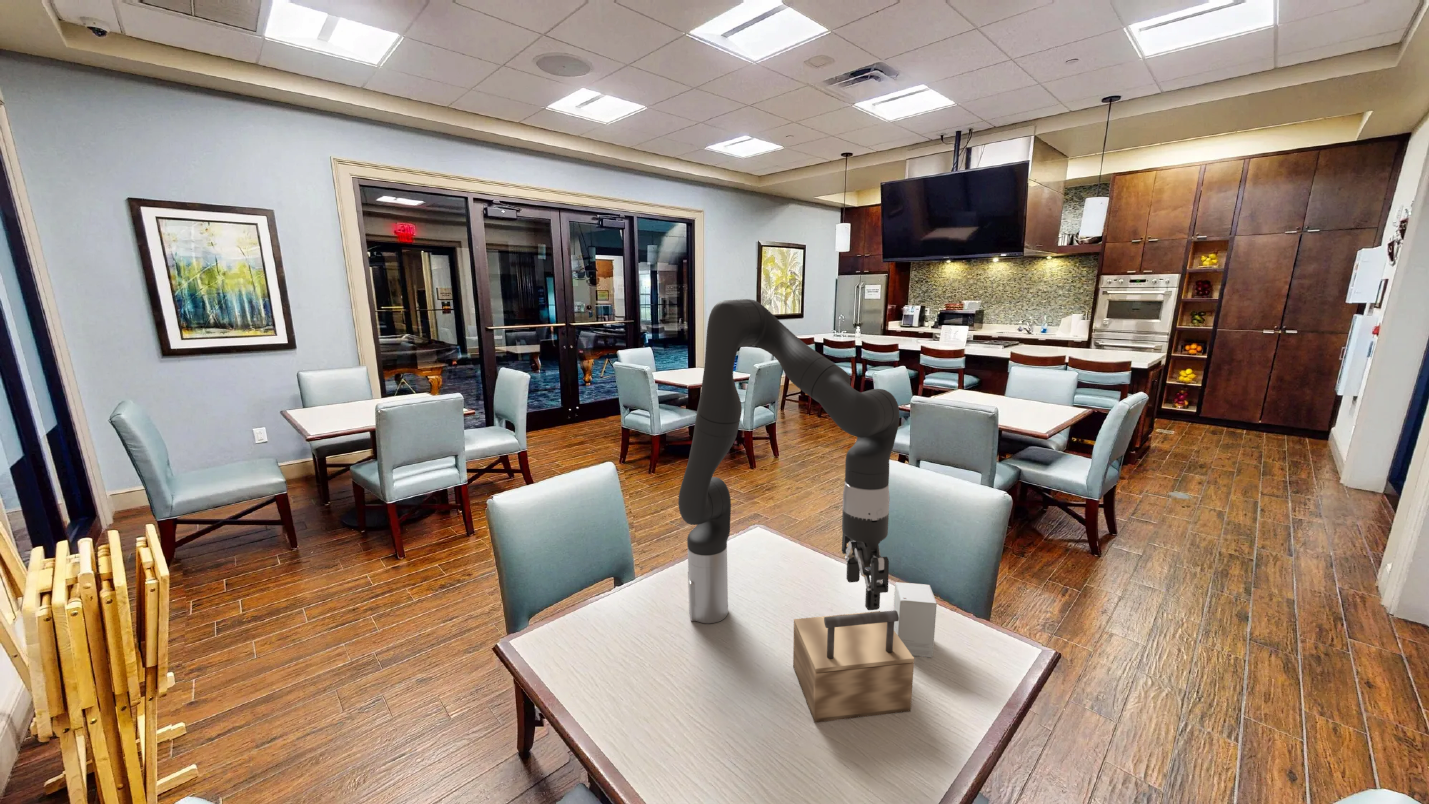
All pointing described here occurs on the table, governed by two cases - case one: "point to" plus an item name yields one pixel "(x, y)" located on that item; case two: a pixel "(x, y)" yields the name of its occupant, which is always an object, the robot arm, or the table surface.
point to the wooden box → (852, 688)
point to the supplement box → (915, 617)
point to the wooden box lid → (852, 641)
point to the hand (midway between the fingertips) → (862, 594)
